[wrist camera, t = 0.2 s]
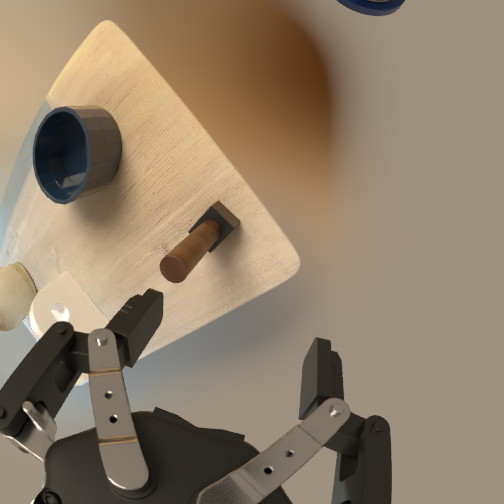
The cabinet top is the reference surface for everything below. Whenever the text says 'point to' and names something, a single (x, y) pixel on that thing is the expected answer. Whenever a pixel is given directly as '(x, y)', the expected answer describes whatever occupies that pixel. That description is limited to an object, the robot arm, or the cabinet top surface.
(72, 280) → the tape dispenser
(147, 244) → the cabinet top surface
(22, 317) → the jug
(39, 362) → the robot arm
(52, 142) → the pot
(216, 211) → the brown cylinder
